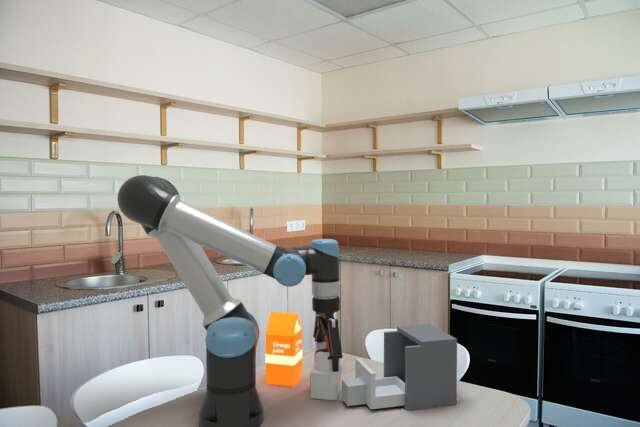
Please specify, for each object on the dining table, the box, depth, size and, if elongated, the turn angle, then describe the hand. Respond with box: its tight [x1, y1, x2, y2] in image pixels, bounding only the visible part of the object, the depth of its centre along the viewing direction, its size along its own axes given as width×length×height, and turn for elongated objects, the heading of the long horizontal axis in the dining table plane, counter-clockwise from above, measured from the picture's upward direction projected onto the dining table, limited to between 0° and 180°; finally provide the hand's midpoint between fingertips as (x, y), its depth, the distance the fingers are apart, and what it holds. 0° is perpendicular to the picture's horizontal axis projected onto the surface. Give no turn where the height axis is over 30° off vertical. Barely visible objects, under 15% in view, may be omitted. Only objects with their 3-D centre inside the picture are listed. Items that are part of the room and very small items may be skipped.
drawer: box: [341, 357, 405, 410], centre depth 124 cm, size 17×12×9 cm
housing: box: [383, 323, 458, 412], centre depth 127 cm, size 14×15×17 cm
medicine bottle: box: [309, 349, 341, 401], centre depth 128 cm, size 7×7×12 cm
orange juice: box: [264, 311, 303, 387], centre depth 139 cm, size 8×9×20 cm
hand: (327, 373), depth 128 cm, fingers open, 13 cm apart
